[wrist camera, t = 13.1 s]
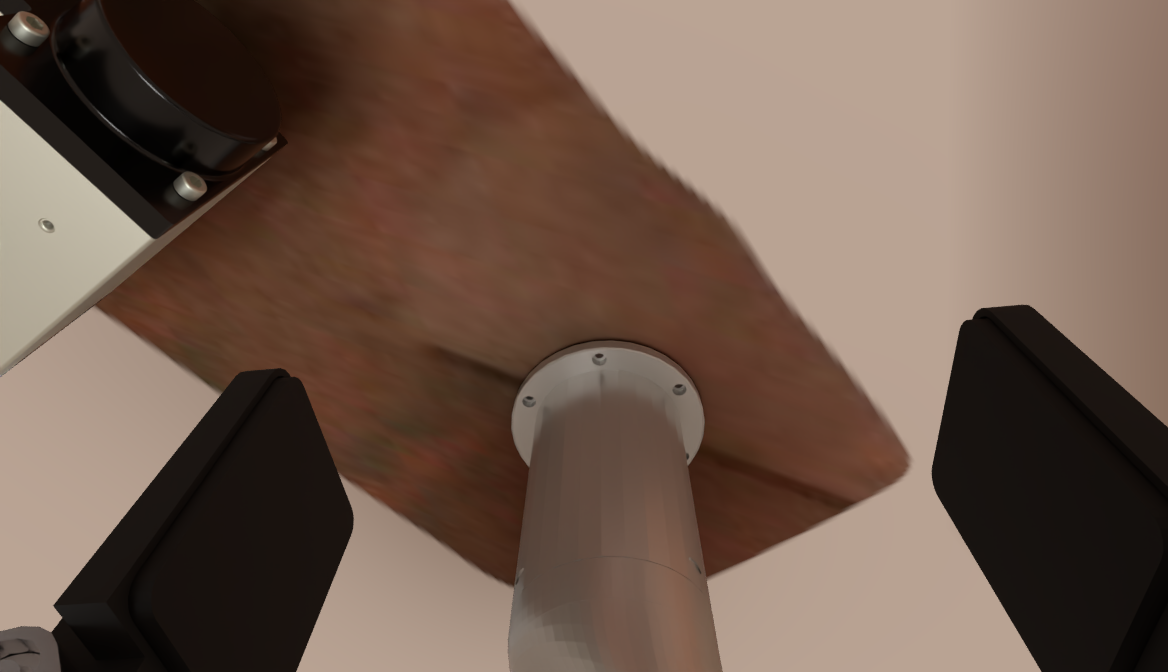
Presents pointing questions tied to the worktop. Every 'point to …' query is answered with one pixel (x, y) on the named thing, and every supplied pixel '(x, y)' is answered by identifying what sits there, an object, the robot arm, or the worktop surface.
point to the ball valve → (113, 146)
